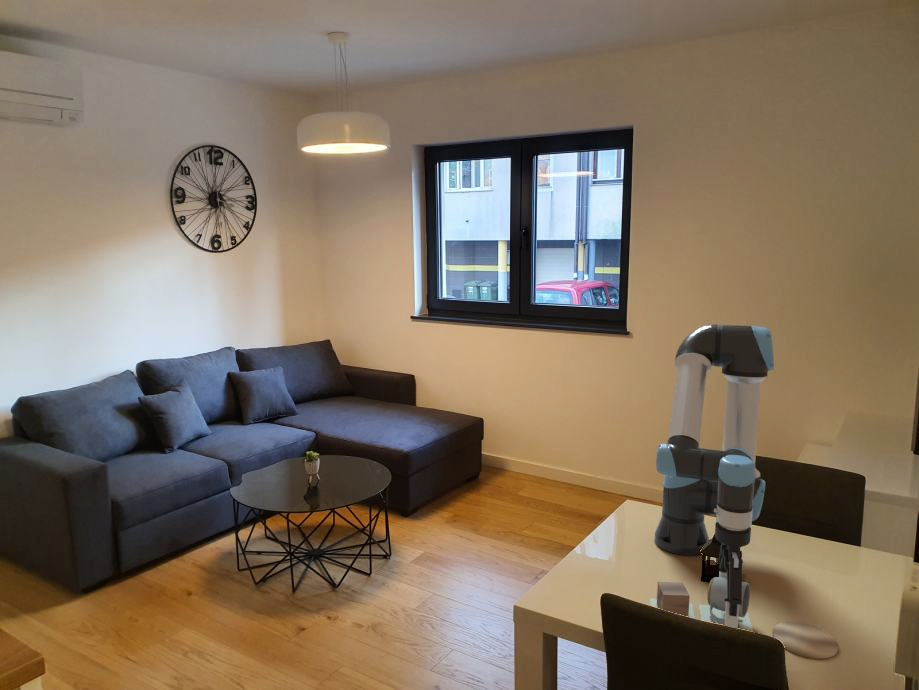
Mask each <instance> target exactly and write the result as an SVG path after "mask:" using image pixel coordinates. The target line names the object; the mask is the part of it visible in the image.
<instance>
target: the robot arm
mask: <svg viewBox="0 0 919 690" xmlns="http://www.w3.org/2000/svg"><path fill="white" fill-rule="evenodd" d="M772 336H773V335H772V331H771V330H770V329H769V328H767V327H765V326H755V325H737V324H736V325H734V324H715V323H714V324H713V323H711V324H706V325H702V326H700V327H698V328H696V329H695V330H693V331H691V332H690V334H689V333H688V335H687V336H686V337H685V338H684V339H683V340H682V342H681V343H680V345H679V347H678V349H677V350H676V354H675V358H674V368H675V369H676V370H677V371H676V379H675V386H674V394H673V400H672V406H671V407H672V409H671V413H670V414H671V415H670V422H669V430H668V437H667V443H660V444H659V445H658V446H657V450H656V458H655V469H656V471H657V472H658V474H660V475H664V476H663V482H662V487H663V489H662V491H663V492H662V494H663V495H662V506H661V507H662V509H661V511H662V512H661V518H660V519H659V523H658V525H657V527H656V530H655V533H654V543H655V545H656V546H657V547H659V548H660V549H662V550H663V551H665V552H668V553H671V554H675V555H681V556H690V557H691V556H699V555H701V554H700V550H701V549H702V547H703V546H704V544H705V543H706V542H708V541H709V542H710V538H709V534H708V532H707V526H706V524H705V515H706V516H713V517H715V520H716V522H715V525H714V528H715V529H714V539H715V540H716V541H718V542H719V543H720V549H719V556H718V560H717V563H718V565H719V566H718V569H719V572H718V573H719V574H718V577H722V578H726V579H727V596H728V597H727V598H724V601H726V609H725V624H724V625H725V626H729V627H734V628H738V618H739V605H741V604H742V582H743V571H742V570H743V563H744V560H743V551H742V550H741V548H742V547H746V546H747V545H749V544H750V542H751V537H752V536H751V535H752V528H751V526H752V523H753V522H754V521H756V520H757V519H758V518H759V516H760V514H761V510H762V507H763V503H764V497H765V490H766V481H765V480H763V479H762V478H761V472H760V471H759V470H758V469H757V468H756V457H757V440H758V429H759V427H758V426H759V417H760V416H759V414H760V401H761V386H762V382H764V380H765V379H766V378H768V374H769V371H770V372H771V371H774V369H775V364H774V363H775V361H774V358H775V357H774V347H773V344H774V343H773V337H772ZM712 367H719V368H721V375H722V376H723V377H724V378H725V379H726V390H725V391H726V392H725V393H726V394H725V404H724V405H725V408H724V420H723V421H724V422H723V423H724V424H723V425H724V426H723V436H722V437H723V438H722V450H720V449H709V448H704V447H703V448H701V447H700V439H701V431H702V423H703V422H702V421H703V413H704V402H705V394H706V393H705V391H706V385H707V384H706V383H707V374H709V373H710V371H711V370H712Z"/></svg>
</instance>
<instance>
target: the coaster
mask: <svg viewBox="0 0 919 690" xmlns="http://www.w3.org/2000/svg"><path fill="white" fill-rule="evenodd" d="M774 637H775V638H777V639H779V640H781V641H782V642H783V644H784V646H785V650H787V652H790V653H792V654H794V655H797V656H799V657H803V658H808V659H815V660H826V659H830V658H832V657H834V656H836V655H837V654H838V652H839V644H838V641H837V640H836V638H834V637H833V636H832V635H831V634H830V633H829V632H827V631H826V630H824V629H822V628H819V627H818V626H815V625H813V624H808V623H804V622H799V621H783V622H779V623H777V624H775V626H774V627H773V629H772V638H774Z"/></svg>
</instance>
